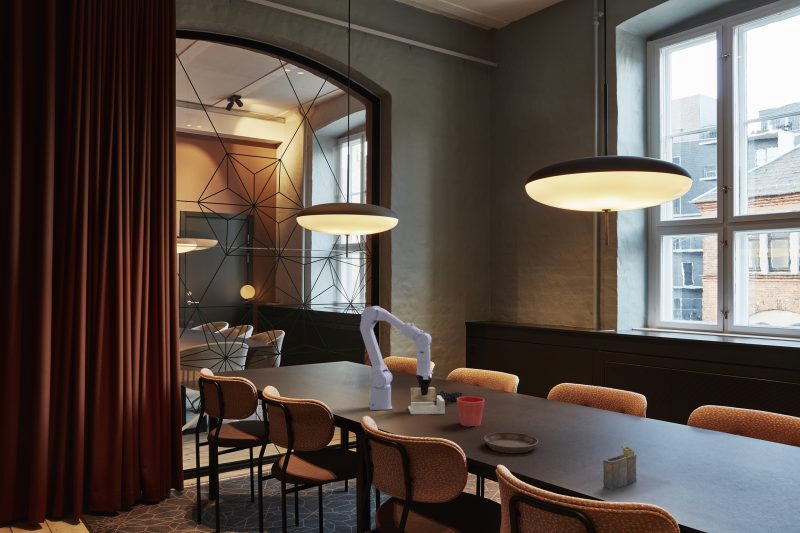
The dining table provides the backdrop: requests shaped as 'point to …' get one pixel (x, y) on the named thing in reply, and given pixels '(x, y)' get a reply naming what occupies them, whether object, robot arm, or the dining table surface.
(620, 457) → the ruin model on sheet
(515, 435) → the plant saucer
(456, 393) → the decorative element
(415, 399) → the tan block
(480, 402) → the flower pot
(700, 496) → the dining table surface
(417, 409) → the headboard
